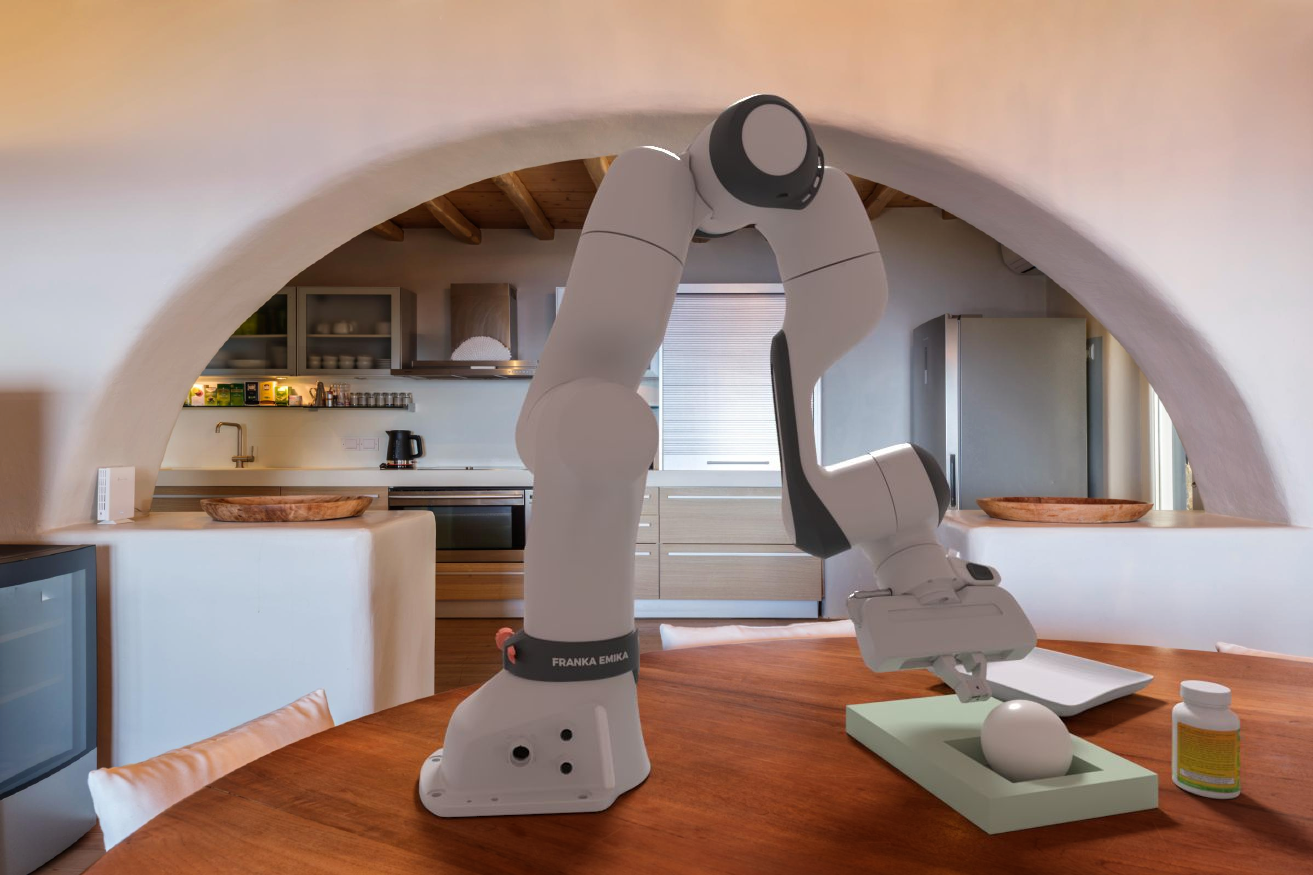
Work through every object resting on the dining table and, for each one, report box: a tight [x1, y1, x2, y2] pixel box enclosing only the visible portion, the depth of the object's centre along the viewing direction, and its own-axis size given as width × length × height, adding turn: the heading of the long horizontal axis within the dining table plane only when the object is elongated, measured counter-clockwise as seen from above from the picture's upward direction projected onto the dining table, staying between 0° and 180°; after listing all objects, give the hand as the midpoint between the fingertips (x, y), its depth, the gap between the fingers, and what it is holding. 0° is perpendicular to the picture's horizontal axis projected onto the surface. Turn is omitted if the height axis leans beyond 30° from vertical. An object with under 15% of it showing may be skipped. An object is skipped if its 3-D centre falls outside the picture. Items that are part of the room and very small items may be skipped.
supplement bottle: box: [1171, 679, 1241, 800], centre depth 75 cm, size 5×5×10 cm
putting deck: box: [845, 693, 1159, 835], centre depth 80 cm, size 18×24×3 cm
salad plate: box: [925, 646, 1155, 717], centre depth 105 cm, size 21×21×3 cm
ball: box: [981, 700, 1073, 783], centre depth 75 cm, size 8×8×8 cm
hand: (977, 699), depth 81 cm, fingers closed
